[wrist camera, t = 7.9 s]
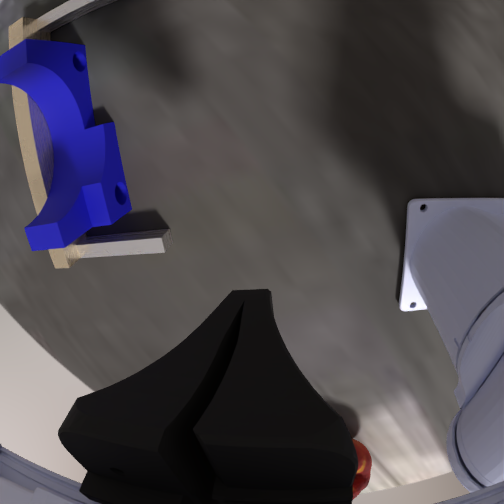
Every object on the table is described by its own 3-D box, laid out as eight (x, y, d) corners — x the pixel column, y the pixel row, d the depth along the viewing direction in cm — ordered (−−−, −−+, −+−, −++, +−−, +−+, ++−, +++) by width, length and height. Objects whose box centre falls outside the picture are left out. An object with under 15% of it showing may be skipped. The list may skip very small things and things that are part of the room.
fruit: (373, 449, 30) (378, 509, 23) (305, 462, 32) (302, 519, 25) (364, 415, 27) (371, 486, 20) (285, 431, 29) (278, 498, 22)
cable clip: (133, 208, 21) (84, 246, 15) (83, 215, 21) (31, 250, 16) (104, 38, 16) (45, 26, 10) (54, 60, 16) (-7, 60, 11)
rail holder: (132, -18, 14) (108, -31, 11) (173, 242, 21) (156, 263, 19) (36, 29, 15) (8, 26, 12) (77, 250, 23) (55, 268, 20)
